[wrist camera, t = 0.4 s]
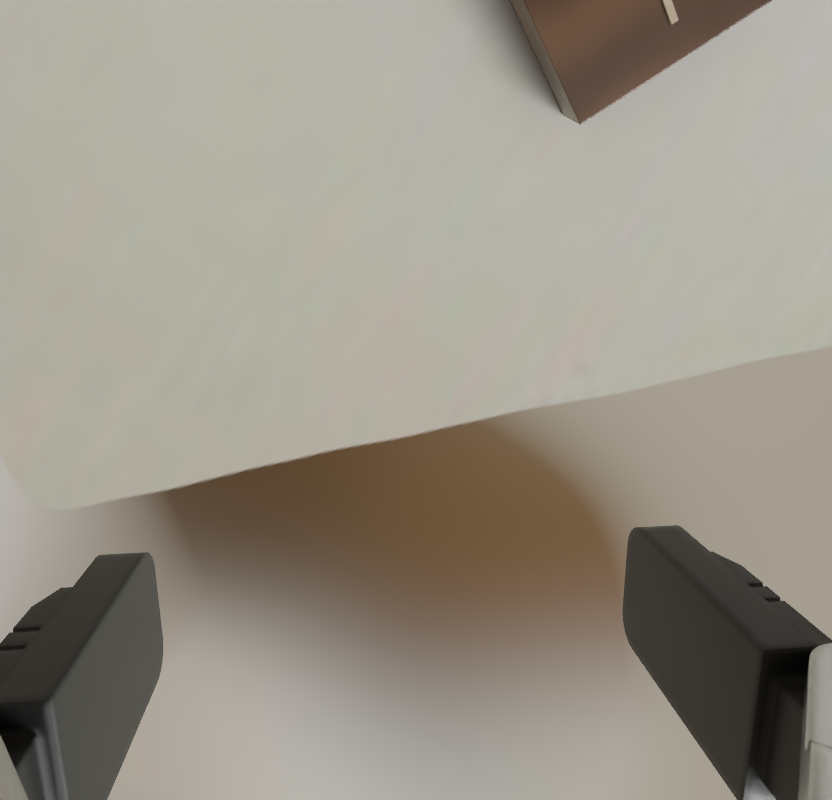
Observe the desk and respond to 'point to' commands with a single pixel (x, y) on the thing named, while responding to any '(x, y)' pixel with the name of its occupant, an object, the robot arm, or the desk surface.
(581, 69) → the plate
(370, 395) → the desk surface
